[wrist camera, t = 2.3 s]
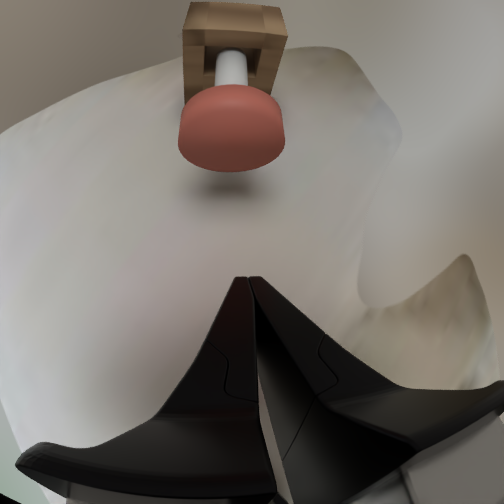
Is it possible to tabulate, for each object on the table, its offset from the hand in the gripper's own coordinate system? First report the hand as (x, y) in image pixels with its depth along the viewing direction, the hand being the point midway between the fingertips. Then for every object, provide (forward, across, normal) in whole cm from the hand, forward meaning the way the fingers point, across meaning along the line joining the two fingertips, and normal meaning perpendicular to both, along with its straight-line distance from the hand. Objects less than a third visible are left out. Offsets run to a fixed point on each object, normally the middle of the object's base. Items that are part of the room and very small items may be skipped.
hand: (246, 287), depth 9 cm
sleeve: (+22, 0, -5) cm, 23 cm away
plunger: (+14, 0, -4) cm, 15 cm away
